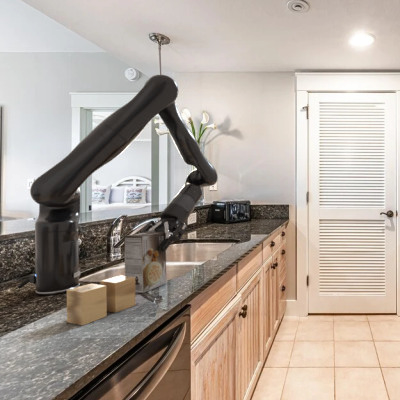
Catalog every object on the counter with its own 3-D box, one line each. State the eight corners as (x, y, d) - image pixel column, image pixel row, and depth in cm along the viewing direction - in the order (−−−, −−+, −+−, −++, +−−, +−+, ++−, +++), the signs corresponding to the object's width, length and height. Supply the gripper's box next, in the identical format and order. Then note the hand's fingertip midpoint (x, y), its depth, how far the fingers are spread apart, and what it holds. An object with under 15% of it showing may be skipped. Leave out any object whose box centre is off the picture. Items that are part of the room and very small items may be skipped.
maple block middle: (100, 310, 69) (100, 280, 69) (121, 302, 74) (120, 275, 74) (115, 312, 67) (115, 282, 67) (135, 305, 72) (135, 277, 72)
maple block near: (66, 322, 62) (66, 290, 62) (91, 313, 67) (91, 283, 67) (82, 325, 61) (82, 292, 61) (106, 316, 65) (106, 285, 65)
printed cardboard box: (149, 282, 91) (148, 231, 90) (167, 283, 89) (166, 231, 89) (124, 292, 82) (123, 235, 81) (143, 293, 80) (142, 236, 80)
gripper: (156, 202, 97) (123, 241, 86) (190, 202, 92) (159, 244, 82) (169, 216, 102) (139, 255, 91) (202, 217, 97) (175, 259, 87)
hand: (149, 250), depth 86 cm, fingers open, 8 cm apart
